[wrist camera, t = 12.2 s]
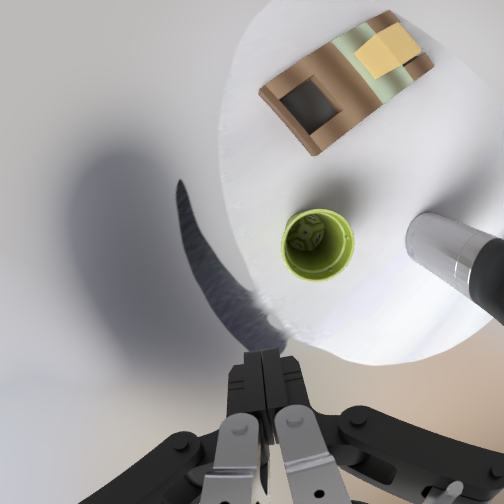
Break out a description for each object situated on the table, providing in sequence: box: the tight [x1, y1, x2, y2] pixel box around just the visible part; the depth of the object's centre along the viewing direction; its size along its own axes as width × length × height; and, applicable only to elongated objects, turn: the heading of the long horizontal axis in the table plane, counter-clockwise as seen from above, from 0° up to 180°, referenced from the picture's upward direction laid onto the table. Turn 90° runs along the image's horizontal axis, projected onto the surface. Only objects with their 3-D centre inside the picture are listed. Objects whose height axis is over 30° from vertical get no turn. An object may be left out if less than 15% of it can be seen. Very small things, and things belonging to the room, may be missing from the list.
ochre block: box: [354, 22, 422, 79], centre depth 29 cm, size 5×5×8 cm
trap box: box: [258, 10, 435, 156], centre depth 35 cm, size 28×12×3 cm, turn 131°
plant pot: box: [281, 209, 355, 282], centre depth 39 cm, size 9×9×9 cm
